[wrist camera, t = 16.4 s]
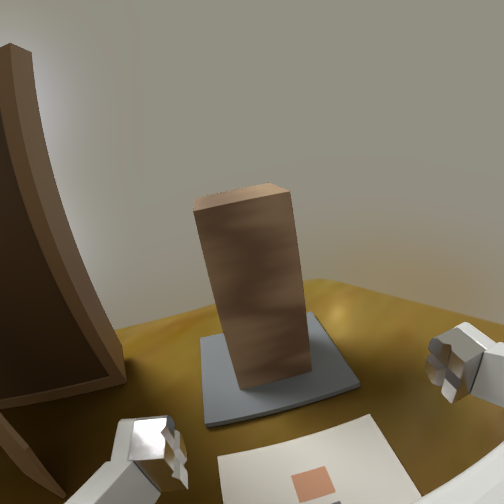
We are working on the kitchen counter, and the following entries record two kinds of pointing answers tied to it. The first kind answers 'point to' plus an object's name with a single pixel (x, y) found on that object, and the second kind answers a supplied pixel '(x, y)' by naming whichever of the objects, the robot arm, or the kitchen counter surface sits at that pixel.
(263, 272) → the walnut block
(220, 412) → the pad
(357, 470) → the tile
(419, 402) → the kitchen counter surface
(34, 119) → the photo frame
